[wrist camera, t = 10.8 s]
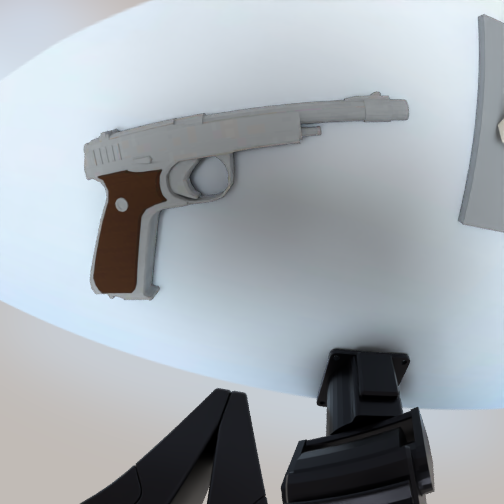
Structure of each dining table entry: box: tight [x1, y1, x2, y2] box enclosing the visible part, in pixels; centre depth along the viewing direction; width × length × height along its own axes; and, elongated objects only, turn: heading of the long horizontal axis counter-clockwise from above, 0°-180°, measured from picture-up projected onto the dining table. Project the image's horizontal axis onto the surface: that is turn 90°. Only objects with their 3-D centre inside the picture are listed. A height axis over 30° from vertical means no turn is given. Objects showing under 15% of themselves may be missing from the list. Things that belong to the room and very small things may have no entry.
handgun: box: [84, 92, 409, 301], centre depth 19 cm, size 2×23×12 cm
